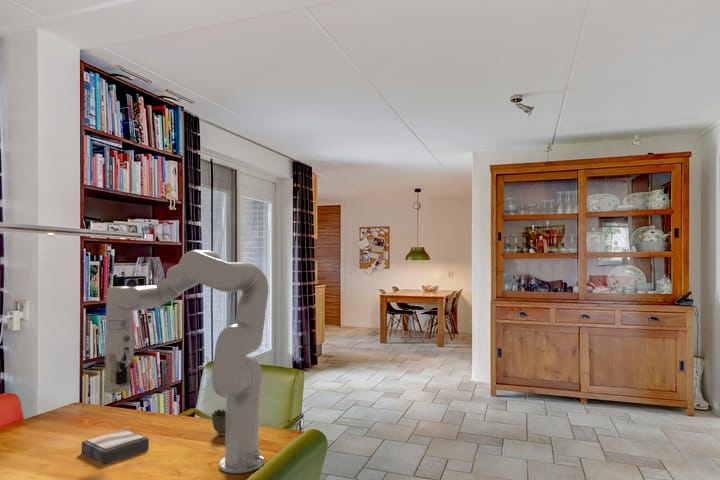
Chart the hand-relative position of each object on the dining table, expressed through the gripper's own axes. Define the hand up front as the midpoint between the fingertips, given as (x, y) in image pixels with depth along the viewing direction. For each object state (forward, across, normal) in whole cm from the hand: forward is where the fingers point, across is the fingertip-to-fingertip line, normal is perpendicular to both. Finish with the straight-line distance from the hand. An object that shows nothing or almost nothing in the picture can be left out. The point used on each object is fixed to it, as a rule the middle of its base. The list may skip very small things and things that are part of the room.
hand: (117, 381), depth 151 cm
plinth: (+22, 0, 0) cm, 22 cm away
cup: (+22, -16, -29) cm, 40 cm away
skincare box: (+3, 0, 0) cm, 3 cm away
